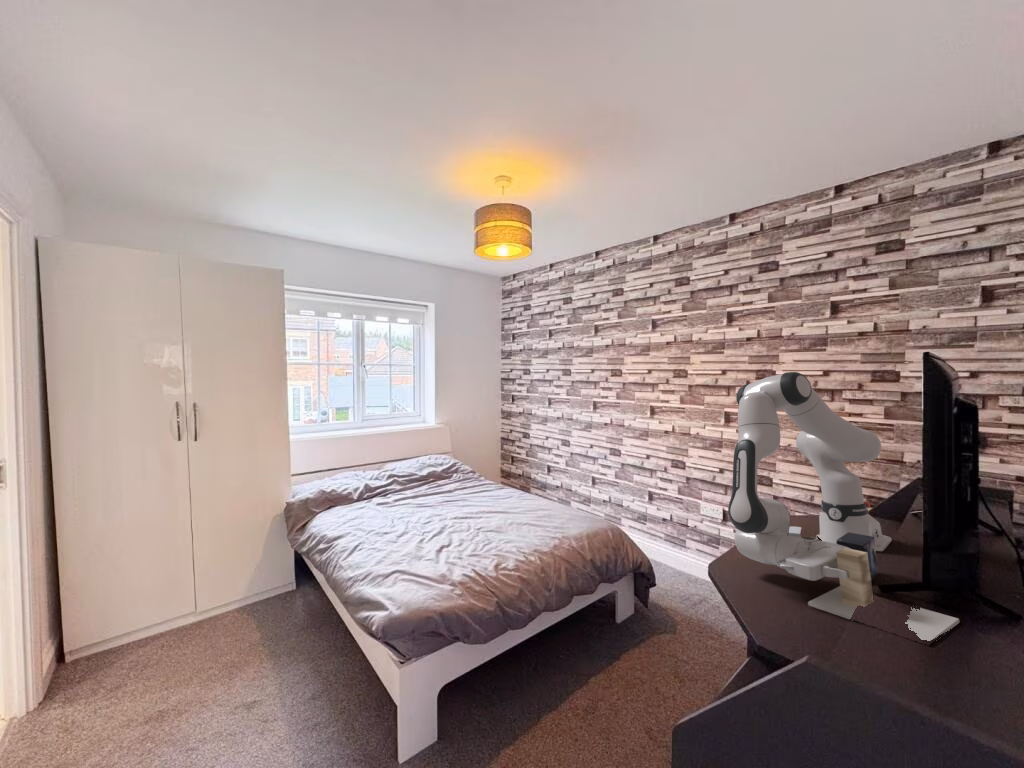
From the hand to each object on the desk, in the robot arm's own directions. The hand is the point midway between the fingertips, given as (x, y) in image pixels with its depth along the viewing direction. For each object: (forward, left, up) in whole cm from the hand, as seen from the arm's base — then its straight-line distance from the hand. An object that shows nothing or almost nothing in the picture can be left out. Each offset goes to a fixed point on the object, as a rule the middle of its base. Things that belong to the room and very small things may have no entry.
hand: (858, 570), depth 100 cm
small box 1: (-16, -24, -9) cm, 30 cm away
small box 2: (-20, -9, -9) cm, 24 cm away
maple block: (0, -1, -8) cm, 8 cm away
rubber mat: (0, +3, -9) cm, 9 cm away
